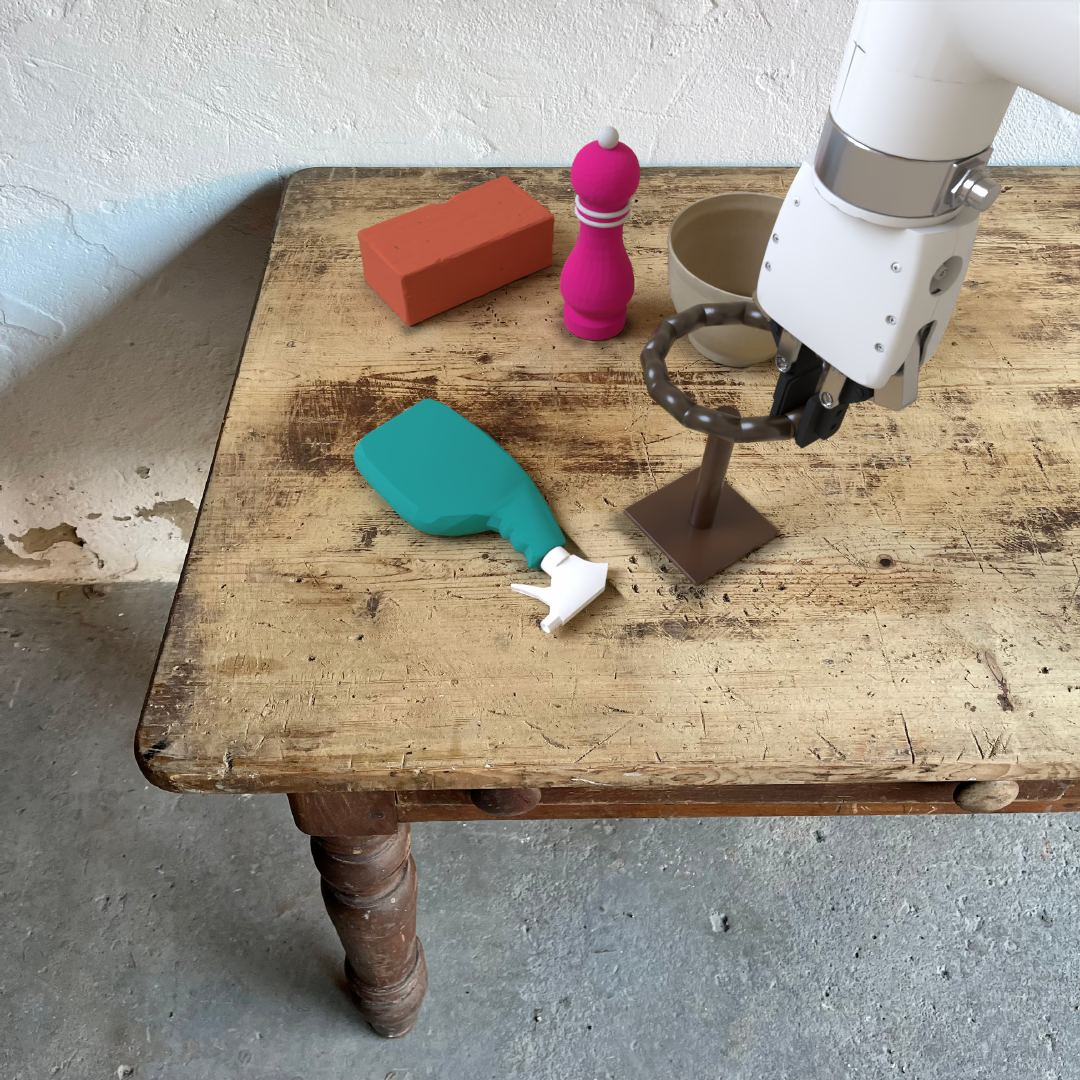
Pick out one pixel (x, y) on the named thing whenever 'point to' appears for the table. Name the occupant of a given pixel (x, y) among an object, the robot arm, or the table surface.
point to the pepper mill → (600, 239)
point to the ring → (700, 415)
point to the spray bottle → (474, 498)
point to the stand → (702, 516)
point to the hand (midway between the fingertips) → (801, 424)
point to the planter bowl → (723, 268)
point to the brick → (456, 249)
